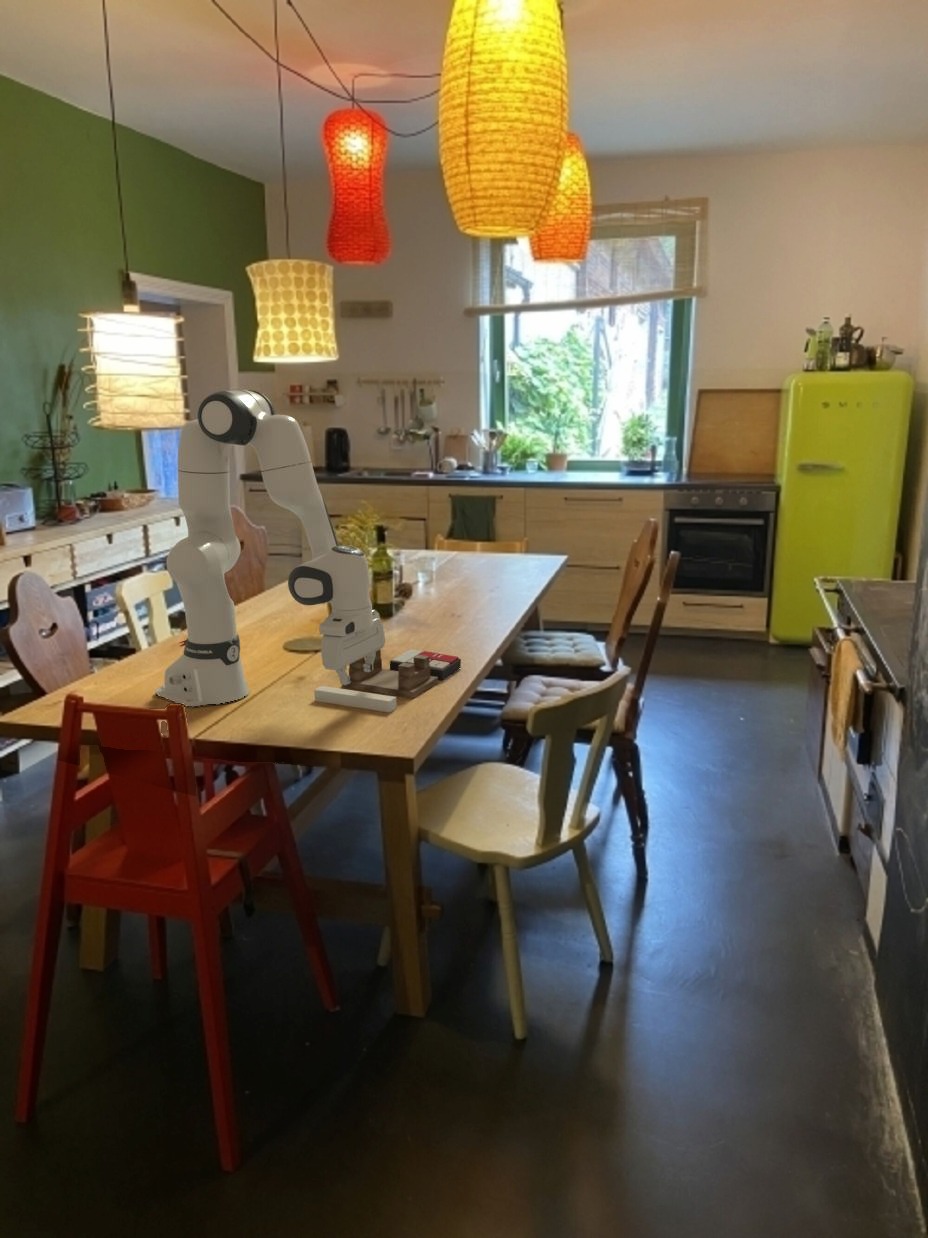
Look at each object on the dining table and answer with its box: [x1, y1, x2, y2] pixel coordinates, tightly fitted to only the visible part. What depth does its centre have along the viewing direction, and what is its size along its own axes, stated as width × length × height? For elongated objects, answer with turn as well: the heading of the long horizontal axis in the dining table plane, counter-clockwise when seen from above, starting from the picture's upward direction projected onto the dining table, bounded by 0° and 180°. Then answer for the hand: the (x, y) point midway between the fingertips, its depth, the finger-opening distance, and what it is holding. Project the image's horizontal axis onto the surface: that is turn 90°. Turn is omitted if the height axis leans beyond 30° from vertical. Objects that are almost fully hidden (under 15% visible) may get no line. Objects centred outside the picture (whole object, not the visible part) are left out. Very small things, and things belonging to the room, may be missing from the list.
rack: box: [341, 648, 439, 699], centre depth 214 cm, size 20×12×7 cm, turn 62°
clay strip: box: [313, 685, 398, 713], centre depth 202 cm, size 20×3×3 cm, turn 65°
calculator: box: [389, 649, 462, 682], centre depth 224 cm, size 11×4×15 cm
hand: (357, 677), depth 200 cm, fingers open, 8 cm apart
